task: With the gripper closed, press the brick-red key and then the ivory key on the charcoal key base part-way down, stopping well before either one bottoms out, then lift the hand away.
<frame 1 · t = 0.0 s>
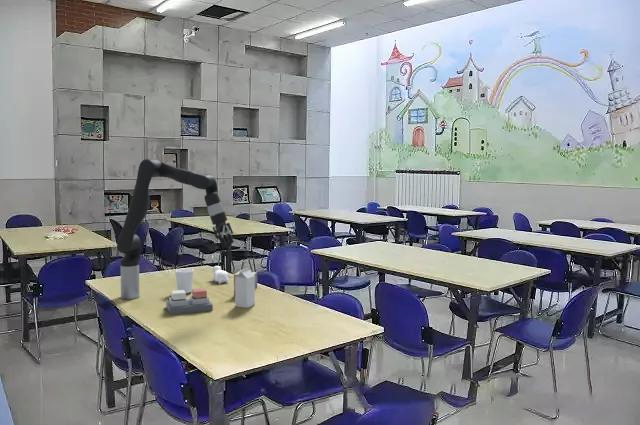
hand: (227, 244, 257), 31 cm above the table, tool tilted 20°, fingers open, 8 cm apart
gray gift bag: (245, 292, 291), on the table
cup: (184, 293, 287), on the table
key base: (189, 308, 256), on the table
ivory key: (178, 294, 254), point 7 cm above the table, slide at 0.0 cm
milk carton: (245, 306, 263), on the table
white animal figurine: (219, 281, 315), on the table
red key: (199, 293, 258), point 7 cm above the table, slide at 0.0 cm
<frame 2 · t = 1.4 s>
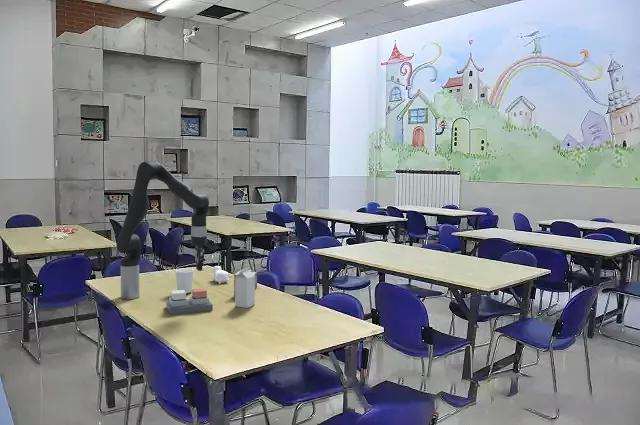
hand: (199, 269, 256), 19 cm above the table, tool pointing down, fingers open, 3 cm apart
nothing on the table moved.
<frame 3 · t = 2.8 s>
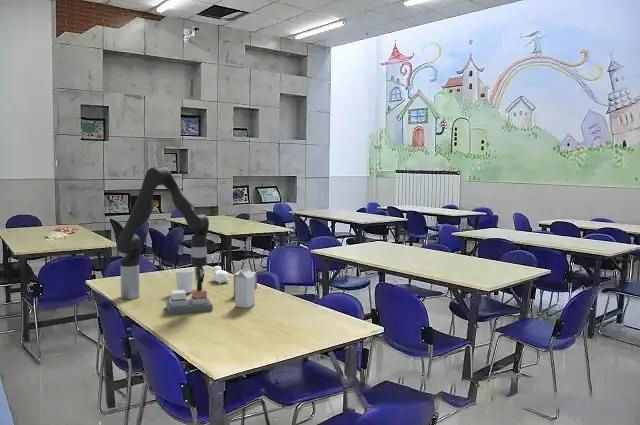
hand: (199, 290, 257), 9 cm above the table, tool pointing down, fingers closed
red key: (199, 293, 258), point 7 cm above the table, slide at 0.1 cm, touching gripper
everything else where it was.
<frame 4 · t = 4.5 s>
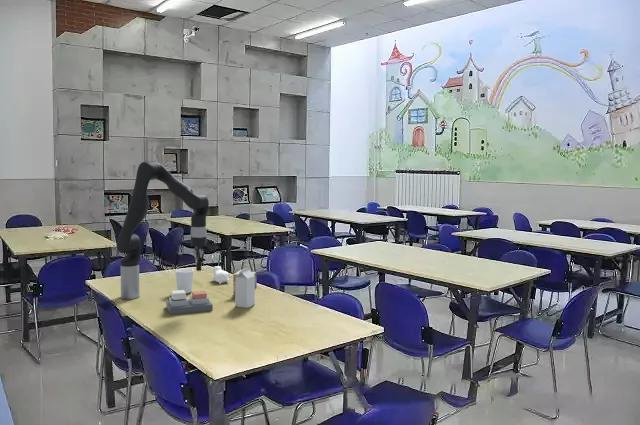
hand: (198, 270, 256), 19 cm above the table, tool pointing down, fingers closed
red key: (199, 295, 258), point 6 cm above the table, slide at 1.3 cm
everything else where it was.
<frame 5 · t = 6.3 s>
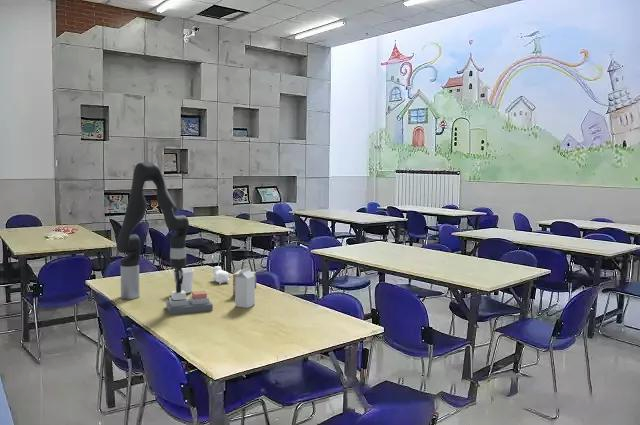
hand: (178, 292, 253), 9 cm above the table, tool pointing down, fingers closed
ivory key: (178, 295, 254), point 7 cm above the table, slide at 0.2 cm, touching gripper
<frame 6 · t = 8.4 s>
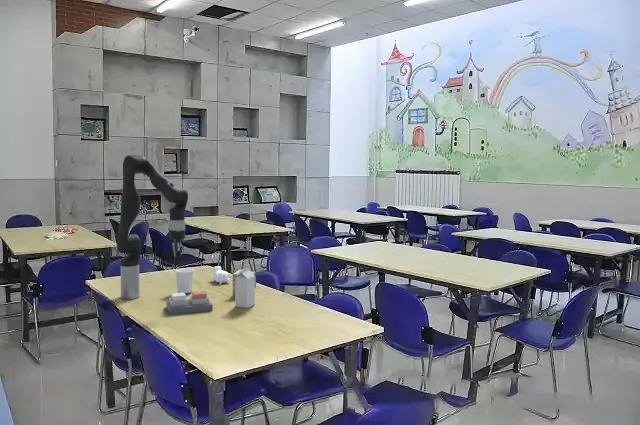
hand: (177, 263, 256), 22 cm above the table, tool pointing down, fingers closed
ivory key: (178, 297, 254), point 6 cm above the table, slide at 1.3 cm
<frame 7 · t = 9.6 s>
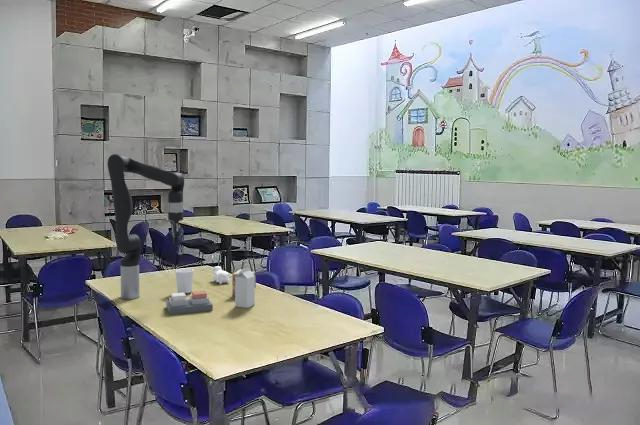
hand: (175, 244, 271), 29 cm above the table, tool pointing down, fingers closed
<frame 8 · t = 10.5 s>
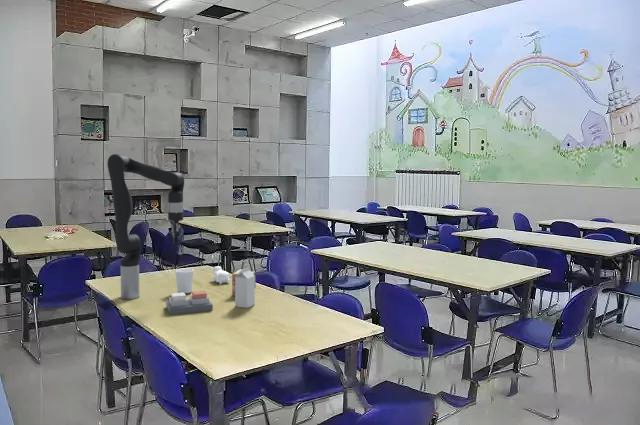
hand: (175, 244, 271), 29 cm above the table, tool pointing down, fingers closed
at the end: red key slide at 1.3 cm; ivory key slide at 1.3 cm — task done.
